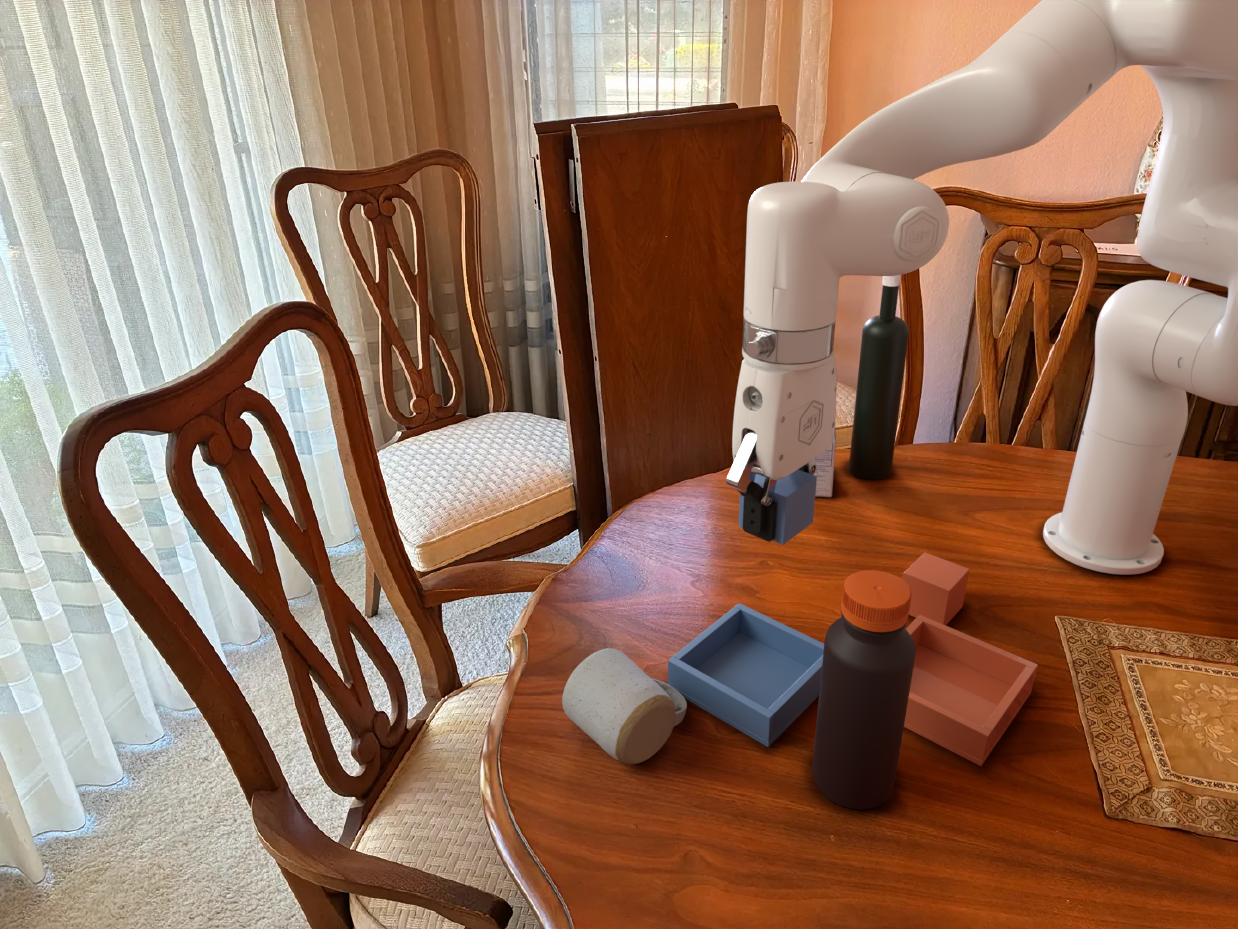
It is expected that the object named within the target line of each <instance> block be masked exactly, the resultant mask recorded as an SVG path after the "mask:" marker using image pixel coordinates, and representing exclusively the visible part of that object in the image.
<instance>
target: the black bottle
mask: <svg viewBox="0 0 1238 929" xmlns="http://www.w3.org/2000/svg"><path fill="white" fill-rule="evenodd" d="M911 597H912V593H911V590H910V588H909V586H908V585H907V584H906V583H905V581H903V578H900V577H899V576H898V575H895V574H892V573H890V572H887V571H882V570H877V569H875V570H874V569H865V570H860V571H856V572H853V573H851V574H849V576H847V577H846V578H845V579H844V581H843V584H842V593H841V600H840V601H841V602H840V615H841V617H839V618H837V619H836V620H834V622H833V623H831V624H830V625H829V626H828V628H827V631H826V633H825V635H824V642H823V643H824V652H823V662H822V672H821V682H820V692H819V696H818V704H817V715H816V724H815V735H814V744H813V754H812V755H813V756H812V765H811V770H812V778H813V781H814V784H815V785H816V787H817V789H818V790H819V792H821V793H822V794H823V796H824V797H825V798H827V799H829V800H830V801H831V802H833V803H835V804H836V805H839V806H840V807H841V806H842V807H845V808H848V809H850V810H851V809H852V810H869V809H873V808H877V807H879V806H881V805H882V804H884V803H886V802H887V800H888V799H889V798H890V797H891V795H892V794H893V792H894V787H895V784H896V776H897V771H898V764H899V758H900V752H901V745H902V740H903V734H904V728H905V727H904V722H905V716H906V710H907V704H908V698H909V692H910V686H911V680H912V674H913V668H914V662H915V655H916V647H915V643H914V640H913V638H912V636H911V635H910V634H909V633H908V631H907V630H906V628H907V627H906V626H907V624H908V619H909V616H910V615H909V609H910V603H911Z"/></svg>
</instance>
